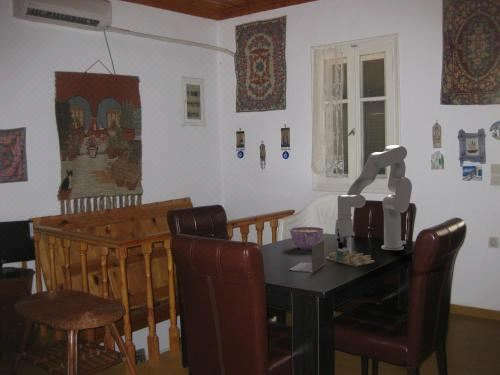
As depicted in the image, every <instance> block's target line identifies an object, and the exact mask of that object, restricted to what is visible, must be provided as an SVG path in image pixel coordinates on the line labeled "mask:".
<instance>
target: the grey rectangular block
mask: <svg viewBox="0 0 500 375" xmlns="http://www.w3.org/2000/svg"><path fill="white" fill-rule="evenodd" d="M342 242H343V249H338V248H337V250H339V251H346V250H349V253H350V252H353V251H352V249H353V248H352V241H351V237H343V239H342Z"/></svg>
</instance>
